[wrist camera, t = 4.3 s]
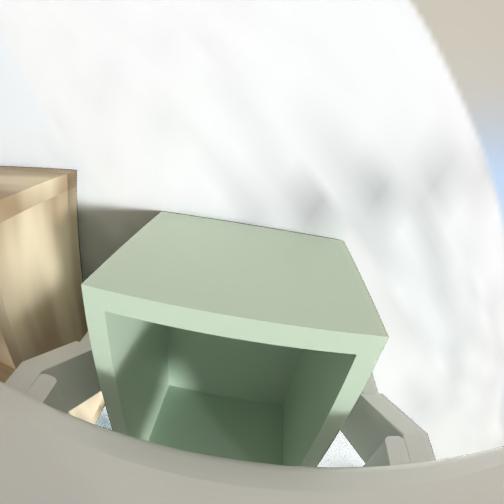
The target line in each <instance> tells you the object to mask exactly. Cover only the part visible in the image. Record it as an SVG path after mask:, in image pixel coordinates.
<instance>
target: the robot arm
mask: <svg viewBox="0 0 504 504" xmlns="http://www.w3.org/2000/svg"><path fill="white" fill-rule="evenodd" d="M100 391H101V387H100V383H99V379H98V375H97V371H96V366H95V362H94V357H93V353H92V348H91V343H90V338H89V332H87V333H86V334H85V336H84V337H83V338H82V340H81V341H80V342H78V341H75V342H72V343H69V344H67V345H64V346H62V347H59V348H57V349H54V350H52V351H49V352H46V353H44V354H41V355H39V356H36V357H34V358H31V359H28V360H26V361H23V362H22V363H21V364H20V365H19V366H18V367H17V369H16V370H15V371H14V372H13V373H12V375H11V376H10V377H9V378H8V380H7V381H6V382H5V383H3V382H1V381H0V504H504V446H501V447H498V448H494V449H490V450H486V451H482V452H477V453H473V454H468V455H463V456H458V457H452V458H446V459H440V460H436V459H435V456H434V453H433V449H432V446H431V443H430V440H429V437H428V434H427V433H426V432H425V431H424V430H423V429H422V428H421V427H419V426H418V425H417V424H416V423H415V422H414V421H413V420H411V419H410V418H409V417H408V416H407V415H406V414H405V413H403V412H402V411H401V410H400V409H399V408H398V407H397V406H396V405H394V404H393V403H392V402H391V401H390V400H389V399H388V398H387V397H385V396H384V395H383V394H379V393H378V390H377V387H376V383H375V380H374V377H373V373H371V375H370V377H369V379H368V381H367V382H366V384H365V386H364V388H363V390H362V392H361V394H360V396H359V398H358V399H357V401H356V403H355V405H354V407H353V408H352V410H351V412H350V414H349V415H348V417H347V419H346V421H345V422H344V424H343V426H342V427H341V429H340V430H341V432H342V433H343V434H344V436H345V437H346V438H347V440H348V441H349V442H350V444H351V445H352V446H353V448H354V449H355V450H356V452H357V453H358V454H359V455H360V457H361V458H362V459H363V461H364V462H365V463H366V464H365V465H364V466H363V467H306V466H289V465H276V464H266V463H257V462H248V461H241V460H234V459H228V458H221V457H216V456H210V455H205V454H200V453H195V452H190V451H185V450H181V449H176V448H172V447H168V446H164V445H160V444H156V443H153V442H149V441H145V440H142V439H138V438H135V437H132V436H128V435H125V434H122V433H119V432H116V431H113V430H110V429H107V428H104V427H101V426H98V425H96V424H93V423H90V422H87V421H85V420H82V419H80V418H77V417H75V416H72V415H70V414H69V411H70V410H72V409H74V408H75V407H77V406H78V405H80V404H81V403H83V402H85V401H86V400H88V399H89V398H91V397H92V396H94V395H96V394H97V393H99V392H100Z"/></svg>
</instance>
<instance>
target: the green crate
mask: <svg viewBox="0 0 504 504" xmlns="http://www.w3.org/2000/svg"><path fill="white" fill-rule="evenodd" d="M81 287H82V295H83V302H84V308H85V315H86V321H87V327H88V332H89V338H90V343H91V348H92V353H93V357H94V362H95V366H96V371H97V375H98V379H99V383H100V387H101V391H102V395H103V399H104V402H105V406H106V409H107V413H108V416H109V420H110V423H111V426H112V429H113V431H116V432H119V433H122V434H125V435H128V436H132V437H135V438H138V439H142V440H145V441H149V442H153V443H156V444H160V445H164V446H168V447H172V448H176V449H181V450H185V451H190V452H195V453H200V454H205V455H210V456H216V457H221V458H228V459H234V460H241V461H248V462H257V463H266V464H276V465H289V466H306V467H317V465H318V464H319V462H320V461H321V459H322V458H323V456H324V455H325V453H326V452H327V450H328V449H329V447H330V445H331V444H332V442H333V441H334V439H335V437H336V436H337V434H338V432H339V431H340V429H341V427H342V426H343V424H344V422H345V421H346V419H347V417H348V415H349V414H350V412H351V410H352V408H353V407H354V405H355V403H356V401H357V399H358V398H359V396H360V394H361V392H362V390H363V388H364V386H365V384H366V382H367V381H368V379H369V377H370V375H371V373H372V371H373V369H374V367H375V365H376V363H377V361H378V358H379V356H380V354H381V352H382V350H383V348H384V346H385V344H386V341H387V339H388V334H387V332H386V330H385V327H384V325H383V323H382V320H381V318H380V316H379V314H378V311H377V309H376V307H375V305H374V303H373V300H372V298H371V296H370V294H369V292H368V290H367V287H366V285H365V283H364V281H363V279H362V277H361V275H360V273H359V271H358V268H357V266H356V264H355V262H354V260H353V258H352V256H351V254H350V252H349V250H348V248H347V246H346V244H345V242H344V241H341V240H336V239H330V238H324V237H319V236H313V235H307V234H301V233H296V232H290V231H284V230H278V229H272V228H266V227H260V226H254V225H247V224H241V223H235V222H229V221H222V220H216V219H209V218H203V217H196V216H190V215H183V214H176V213H169V212H163V211H161V212H160V213H159V214H158V215H157V216H155V217H154V218H153V219H152V220H151V221H150V222H148V223H147V224H146V225H145V226H144V227H143V228H142V229H140V230H139V231H138V232H137V233H136V234H135V235H134V236H132V237H131V238H130V239H129V240H128V241H127V242H126V243H125V244H124V245H122V246H121V247H120V248H119V249H118V250H117V251H116V252H115V253H114V254H113V255H111V256H110V257H109V258H108V259H107V260H106V261H105V262H104V263H103V264H102V265H101V266H100V267H99V268H98V269H97V270H95V271H94V272H93V273H92V274H91V275H90V276H89V277H88V278H87V279H86V280H85V281H84V282H83V283H82V284H81Z"/></svg>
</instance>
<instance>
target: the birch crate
mask: <svg viewBox="0 0 504 504" xmlns="http://www.w3.org/2000/svg"><path fill="white" fill-rule="evenodd" d="M82 283H83V281H82V272H81V262H80V250H79V237H78V218H77V170H66V169H50V168H32V167H9V166H0V381H1V382H3V383H5V382H6V381H7V380H8V378H9V377H10V376H11V375H12V373H13V372H14V371H15V370H16V369H17V367H18V366H19V365H20V364H21V363H22V362H23V361H26V360H28V359H31V358H34V357H36V356H39V355H41V354H44V353H46V352H49V351H52V350H54V349H57V348H59V347H62V346H64V345H67V344H69V343H72V342H75V341H78V342H80V341H81V340H82V338H83V337H84V336H85V334H86V333H87V332H88V327H87V321H86V315H85V308H84V302H83V295H82V287H81V284H82ZM104 406H105V402H104V399H103V395H102V391H100V392H99V393H97V394H96V395H94V396H92V397H91V398H89V399H88V400H86V401H85V402H83V403H81V404H80V405H78V406H77V407H75V408H74V409H72V410H70V411H69V414H70V415H72V416H75V417H77V418H80V419H82V420H85V421H87V422H90V423H93V424H96V422H97V420H98V418H99V416H100V414H101V412H102V410H103V408H104Z"/></svg>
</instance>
